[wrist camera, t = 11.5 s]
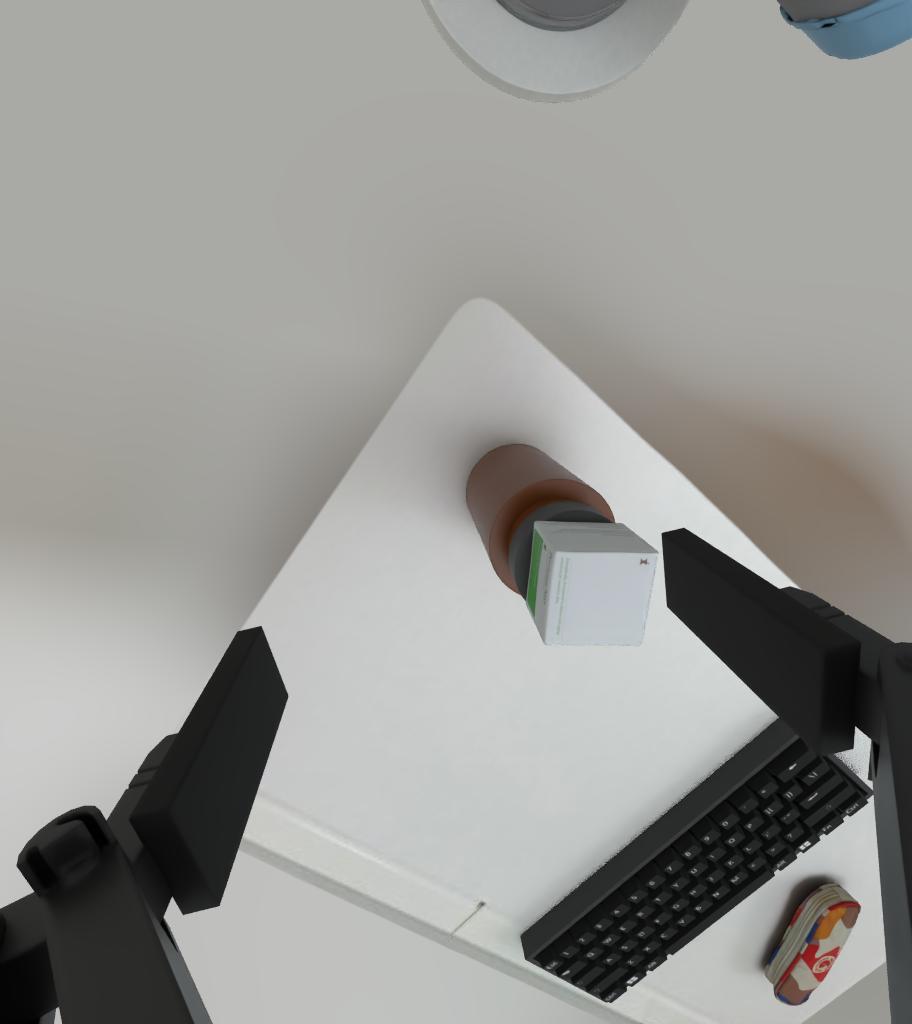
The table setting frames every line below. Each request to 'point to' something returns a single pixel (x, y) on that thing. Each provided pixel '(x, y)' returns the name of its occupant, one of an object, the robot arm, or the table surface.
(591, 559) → the small box
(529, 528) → the bottle
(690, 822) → the computer keyboard
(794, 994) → the pencil case
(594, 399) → the table surface
